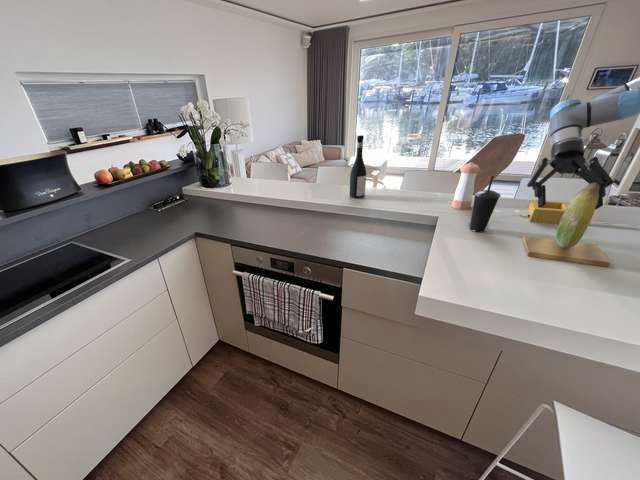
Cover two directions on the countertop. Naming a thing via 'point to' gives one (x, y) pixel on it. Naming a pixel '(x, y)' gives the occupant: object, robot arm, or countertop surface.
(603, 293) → the countertop surface
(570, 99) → the robot arm
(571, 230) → the vegetable
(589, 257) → the board
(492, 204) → the drinking cup
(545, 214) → the stand
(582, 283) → the countertop surface
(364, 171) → the wine bottle
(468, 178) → the pepper shaker
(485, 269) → the countertop surface
